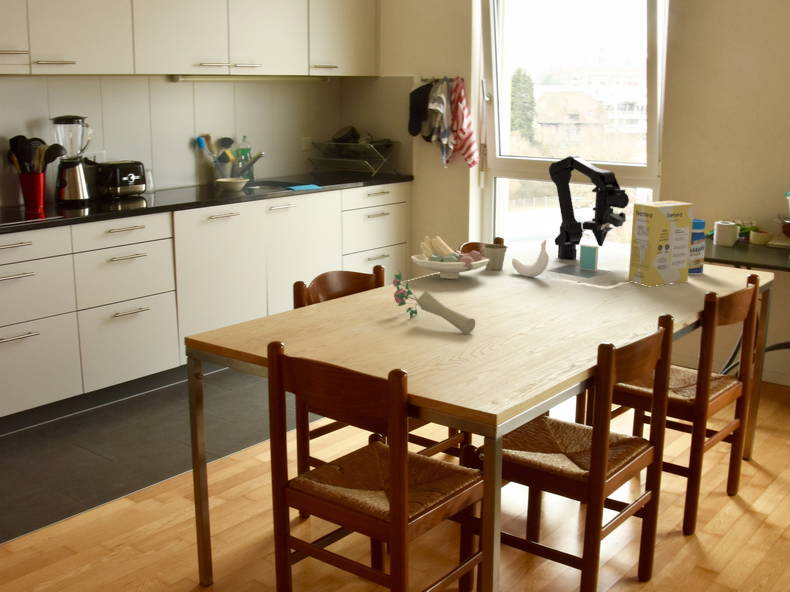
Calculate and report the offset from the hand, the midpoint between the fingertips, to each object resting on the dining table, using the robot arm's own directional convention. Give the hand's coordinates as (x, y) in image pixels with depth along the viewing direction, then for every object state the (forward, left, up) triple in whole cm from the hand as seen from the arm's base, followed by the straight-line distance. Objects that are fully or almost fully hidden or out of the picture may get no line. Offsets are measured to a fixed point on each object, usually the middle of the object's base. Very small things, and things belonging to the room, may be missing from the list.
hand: (600, 246), depth 334 cm
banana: (-11, -31, -9) cm, 34 cm away
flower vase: (+5, -104, -9) cm, 105 cm away
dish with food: (-30, -53, -9) cm, 61 cm away
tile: (0, -8, -8) cm, 11 cm away
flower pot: (-28, -29, -9) cm, 41 cm away
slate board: (-1, -13, -9) cm, 16 cm away
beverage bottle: (+29, +17, -9) cm, 35 cm away
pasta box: (+27, -5, -9) cm, 29 cm away
